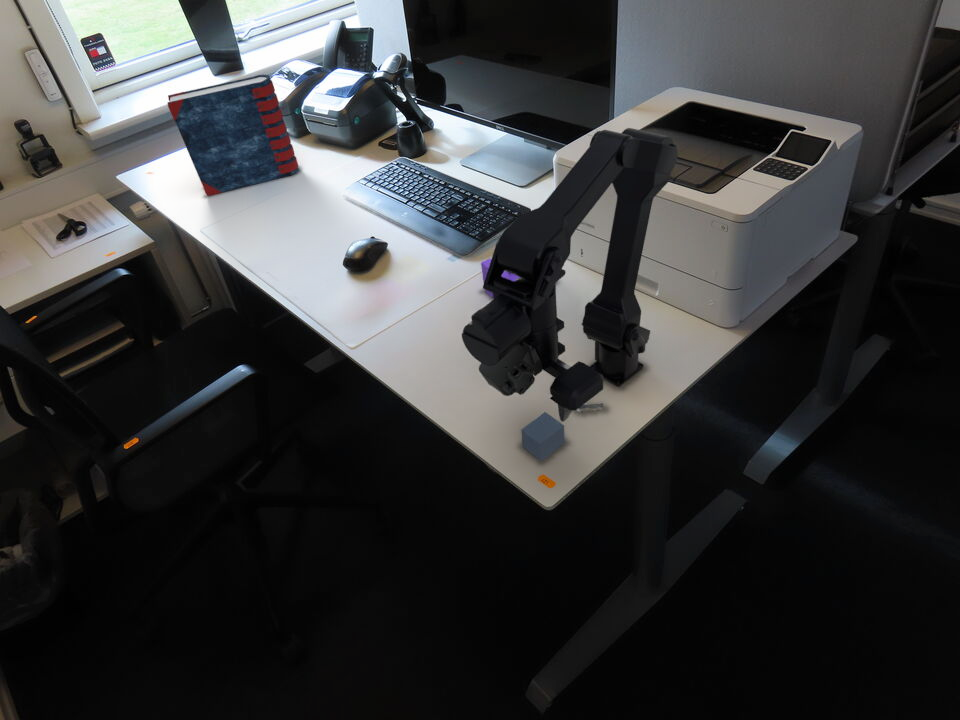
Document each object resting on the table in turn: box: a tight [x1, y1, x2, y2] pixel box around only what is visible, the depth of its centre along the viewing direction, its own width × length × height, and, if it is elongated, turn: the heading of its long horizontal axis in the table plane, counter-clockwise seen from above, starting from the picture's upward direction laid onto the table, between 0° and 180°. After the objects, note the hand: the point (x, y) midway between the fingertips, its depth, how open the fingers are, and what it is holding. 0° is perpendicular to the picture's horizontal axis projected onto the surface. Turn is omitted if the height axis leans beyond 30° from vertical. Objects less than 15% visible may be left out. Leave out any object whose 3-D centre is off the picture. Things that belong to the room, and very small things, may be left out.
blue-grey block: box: [520, 411, 566, 462], centre depth 100 cm, size 4×5×4 cm
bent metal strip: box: [576, 402, 604, 413], centre depth 107 cm, size 7×1×5 cm
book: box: [167, 74, 300, 197], centre depth 172 cm, size 25×7×25 cm, turn 108°
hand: (540, 403), depth 95 cm, fingers open, 9 cm apart
